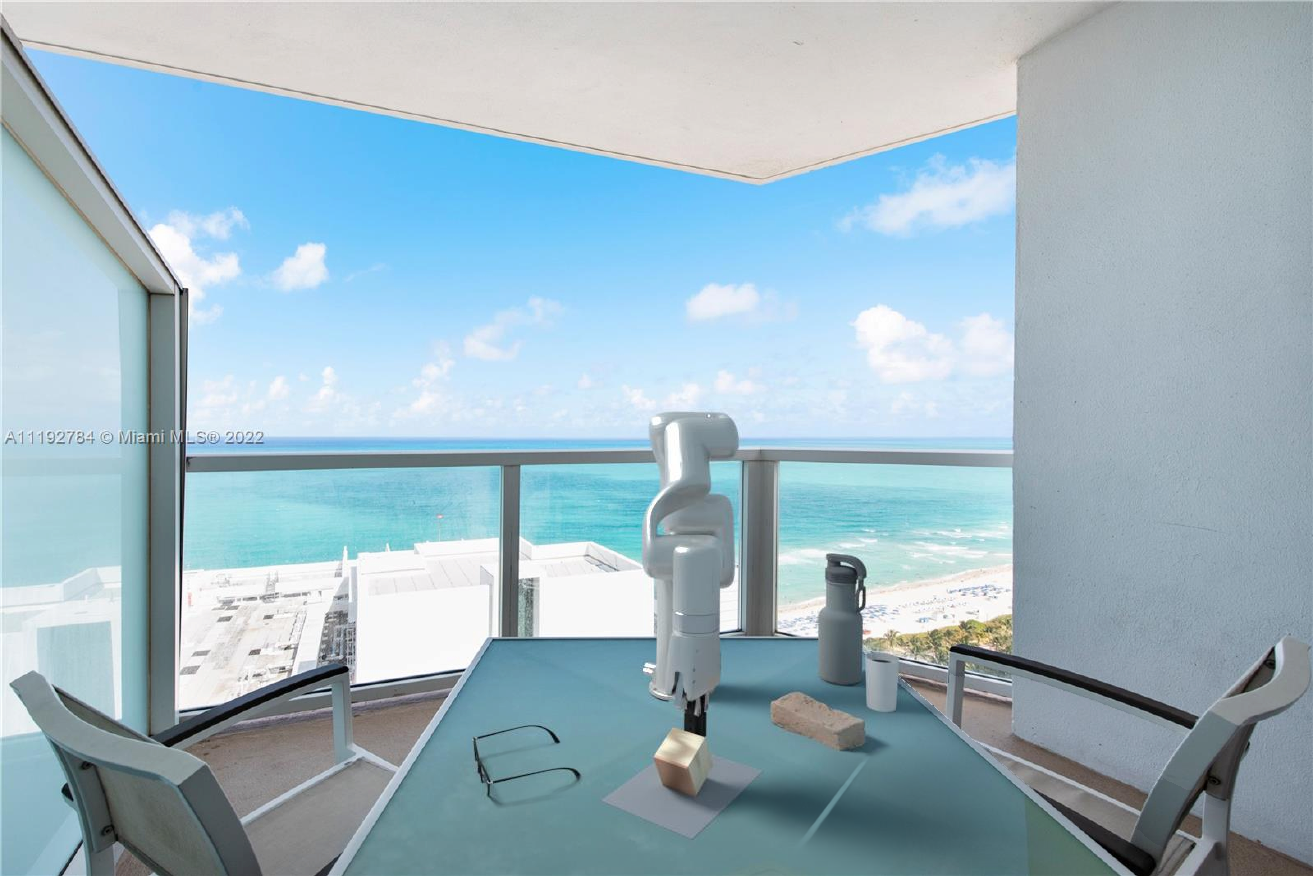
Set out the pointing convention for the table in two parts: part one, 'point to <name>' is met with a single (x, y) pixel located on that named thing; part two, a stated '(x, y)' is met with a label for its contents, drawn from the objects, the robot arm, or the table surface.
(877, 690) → the white cup
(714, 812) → the mat
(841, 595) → the water bottle
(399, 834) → the table surface
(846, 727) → the brick
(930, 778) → the table surface
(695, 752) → the cube
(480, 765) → the eyeglasses
